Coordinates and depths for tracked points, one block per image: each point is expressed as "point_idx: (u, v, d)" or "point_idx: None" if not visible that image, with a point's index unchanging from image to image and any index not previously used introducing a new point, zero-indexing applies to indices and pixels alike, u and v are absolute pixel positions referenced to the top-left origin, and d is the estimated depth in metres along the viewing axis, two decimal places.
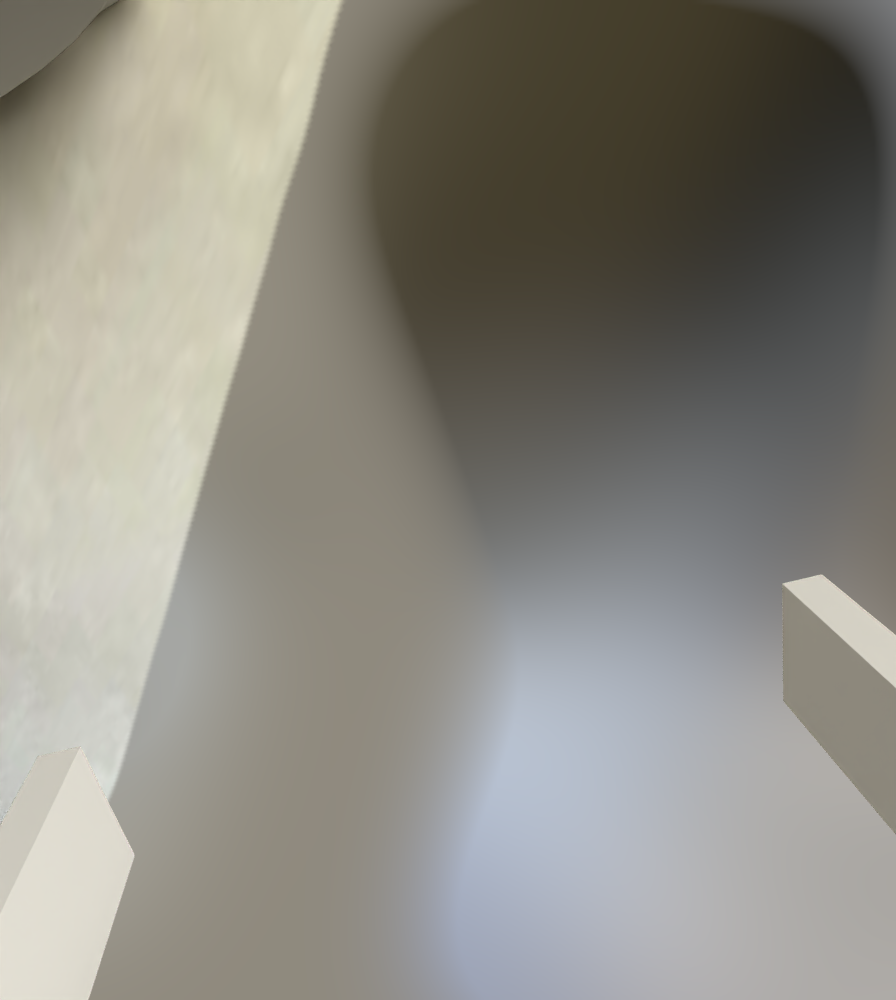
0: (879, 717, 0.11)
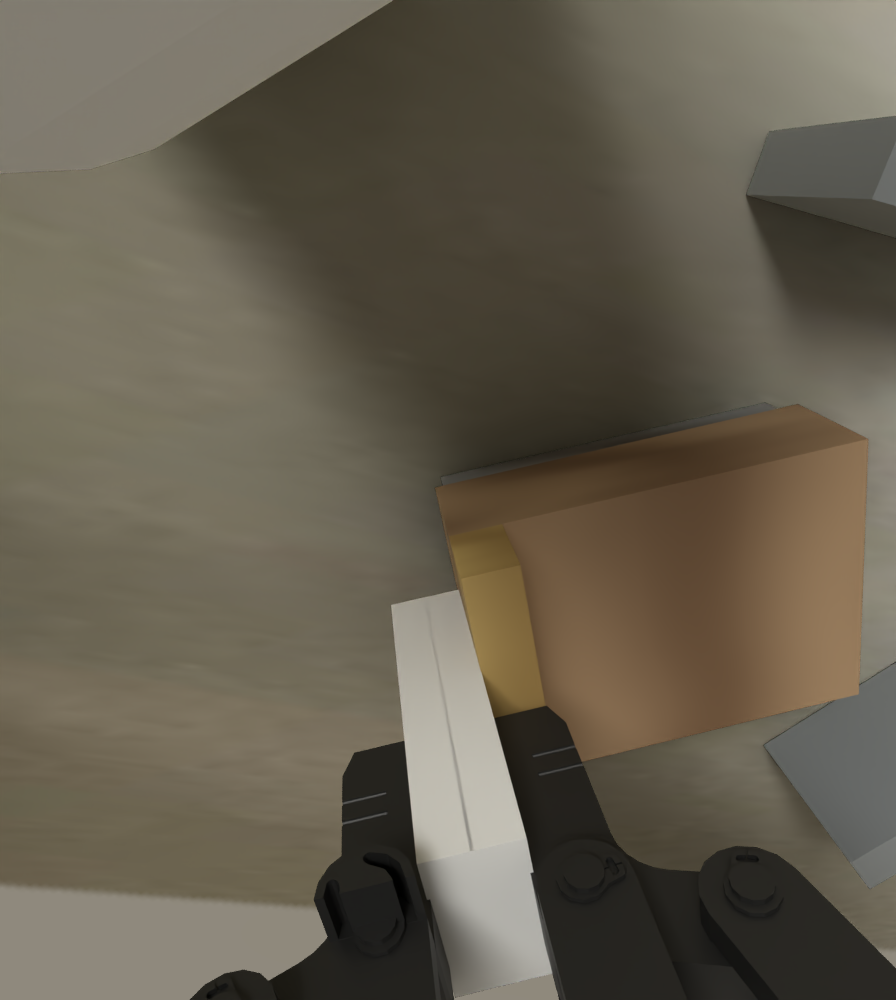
0: None
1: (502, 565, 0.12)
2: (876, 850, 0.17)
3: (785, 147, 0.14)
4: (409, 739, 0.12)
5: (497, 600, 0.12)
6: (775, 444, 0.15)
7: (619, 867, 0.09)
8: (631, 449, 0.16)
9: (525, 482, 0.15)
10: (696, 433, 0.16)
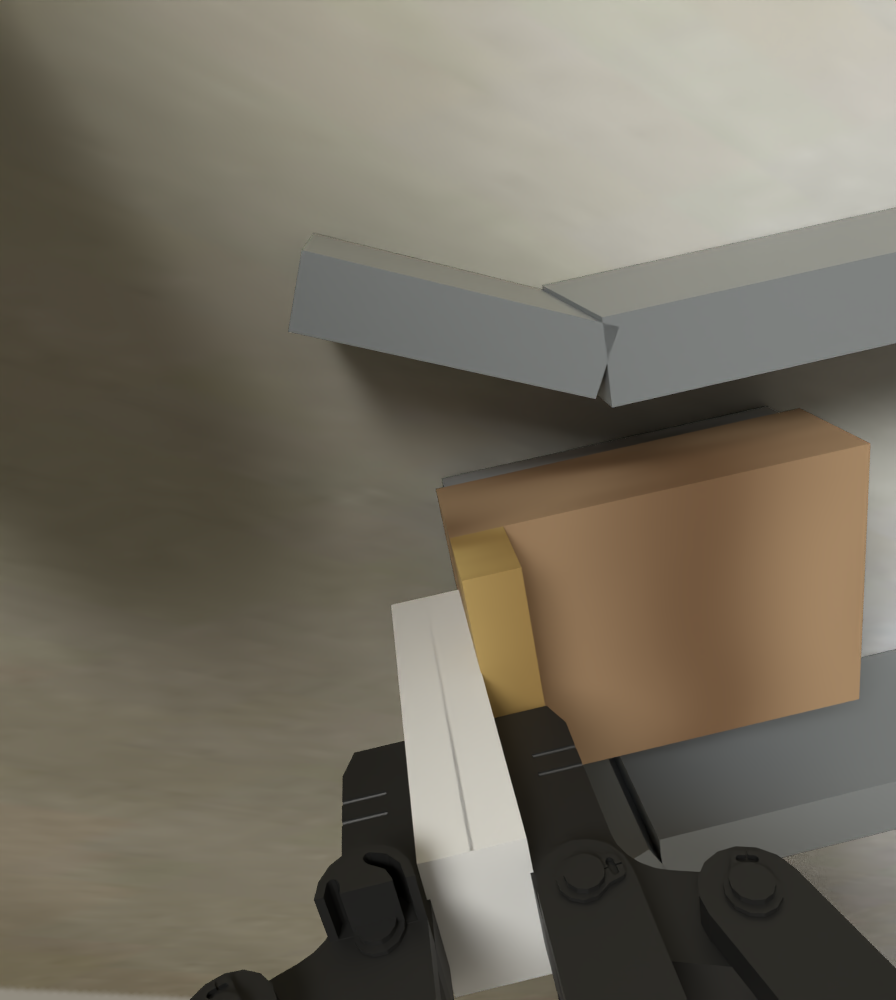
0: None
1: (503, 567, 0.12)
2: None
3: None
4: (409, 739, 0.12)
5: (498, 603, 0.12)
6: (776, 449, 0.14)
7: (619, 867, 0.09)
8: (633, 452, 0.16)
9: (526, 484, 0.15)
10: (698, 436, 0.16)
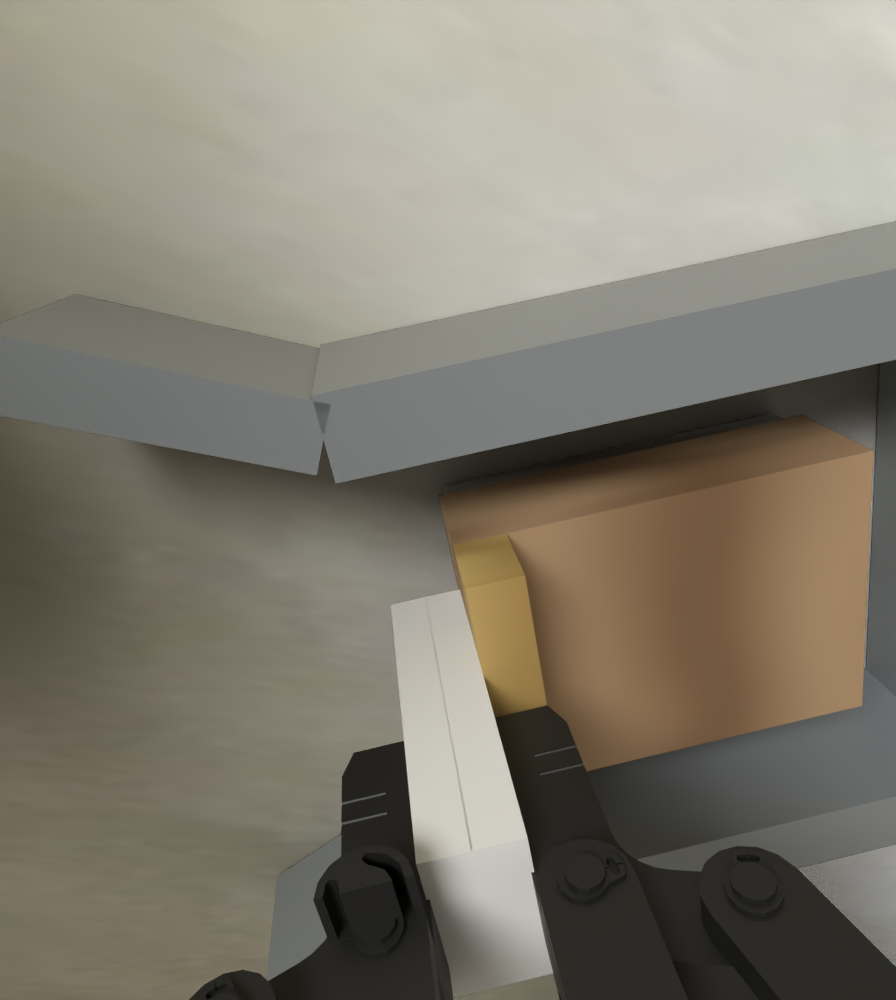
0: None
1: (507, 575, 0.12)
2: None
3: None
4: (409, 739, 0.12)
5: (501, 611, 0.12)
6: (779, 455, 0.14)
7: (619, 867, 0.09)
8: (635, 459, 0.16)
9: (529, 491, 0.15)
10: (701, 443, 0.16)
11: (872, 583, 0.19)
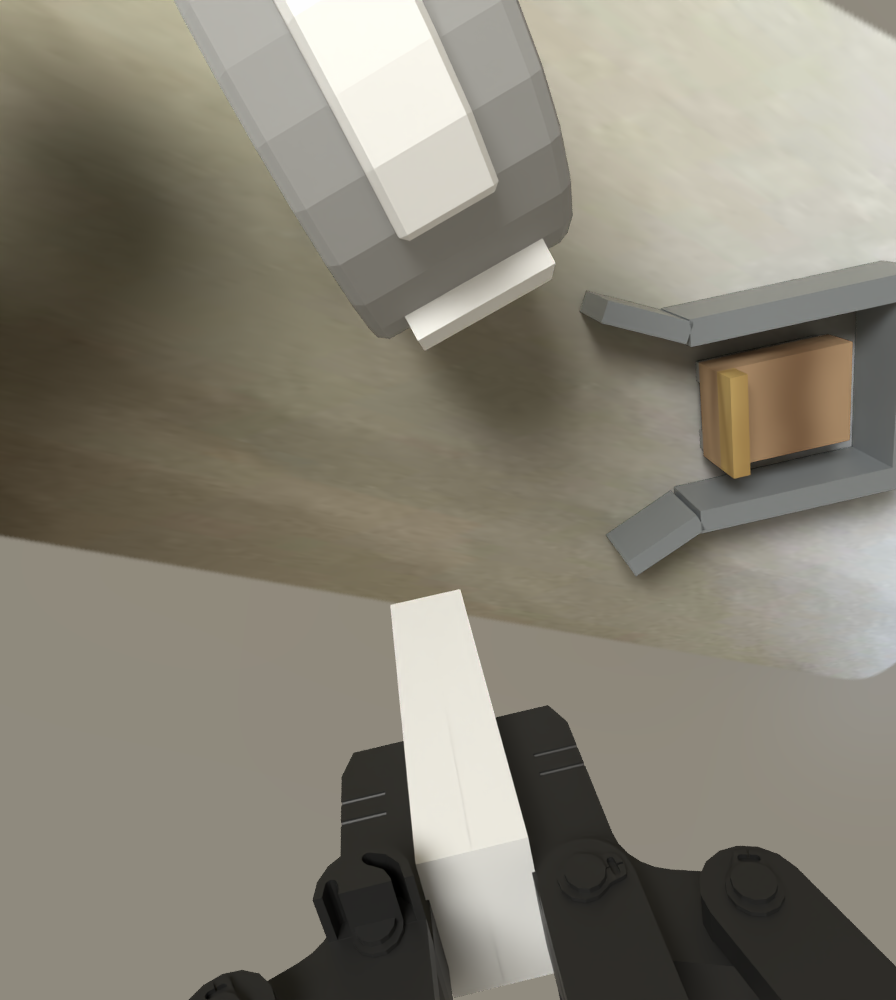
0: None
1: (741, 375, 0.41)
2: (636, 557, 0.45)
3: (588, 298, 0.42)
4: (408, 739, 0.12)
5: (739, 386, 0.41)
6: (821, 344, 0.43)
7: (620, 867, 0.09)
8: (769, 348, 0.44)
9: (734, 358, 0.44)
10: (792, 343, 0.44)
11: (854, 406, 0.48)
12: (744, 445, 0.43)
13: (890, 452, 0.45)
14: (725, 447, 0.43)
